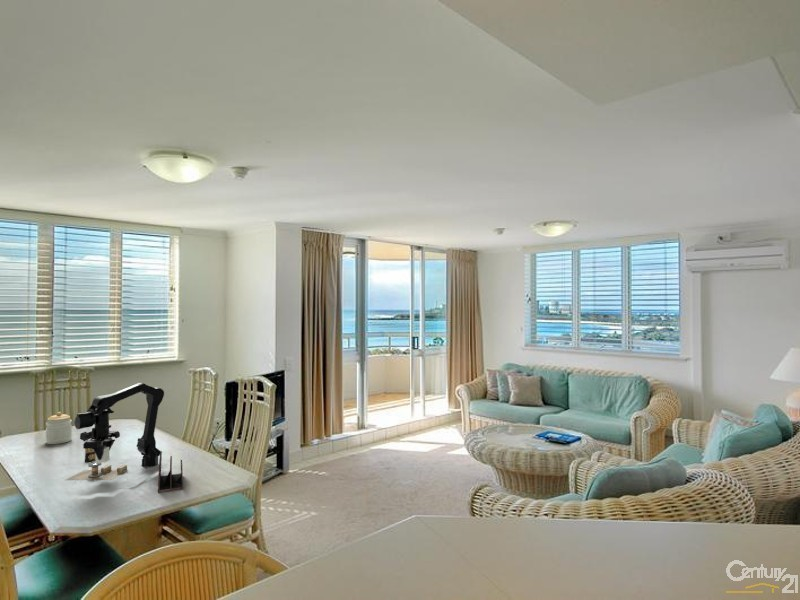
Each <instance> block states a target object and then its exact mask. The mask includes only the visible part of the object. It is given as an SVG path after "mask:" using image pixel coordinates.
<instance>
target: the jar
mask: <svg viewBox="0 0 800 600" xmlns="http://www.w3.org/2000/svg"><path fill="white" fill-rule="evenodd" d="M72 422H73V420H72V419H71V416H70V415H69V414H64V413H62V412H61V411H58V412H56V414H55V415H51V416H50V417H48V418H47V421H46V422H45V425H46V428H45V443H46V444H48V445H58V444H64V443H69V442H71V441H72V438H73V436H72V435H73V434H72V432H73V431H72V427H73V424H72Z"/></svg>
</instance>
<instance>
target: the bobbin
mask: <svg viewBox="0 0 800 600" xmlns="http://www.w3.org/2000/svg"><path fill="white" fill-rule="evenodd" d="M102 463H103V462H100V463H96V461H94V462H91V463H88V464H87V465H88V468H91V470H92V474H90V475H88V477H89V478H95V477H99V476H101V473H98V470H99V467H100V466H102Z"/></svg>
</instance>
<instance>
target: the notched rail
mask: <svg viewBox="0 0 800 600" xmlns="http://www.w3.org/2000/svg"><path fill="white" fill-rule="evenodd" d="M100 470H101V474H105V473H107V472H109V471H111V470H112V464H106V465H104V466H103V467H101V468H100ZM116 470H117V474H120V475H121V474H123V473H125V472H126V471H128V465H127V464H122V465H120V466H119V467H117V468H116Z"/></svg>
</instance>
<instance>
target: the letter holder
mask: <svg viewBox="0 0 800 600" xmlns="http://www.w3.org/2000/svg"><path fill="white" fill-rule="evenodd" d="M162 454H163V451H162V450H160V456H159V458H158V475H157V476H158V480H157V482H158V483H157V493H158V494H160V493H167V492H174V491H182V490H183V489H184V476H183V460H182V459H180V473H172V472H173V468H172V466H173V456H172V455H171V456H170V460H169V471H168V474H167V475H166V474H165V475H162V459H163V457H162Z"/></svg>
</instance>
